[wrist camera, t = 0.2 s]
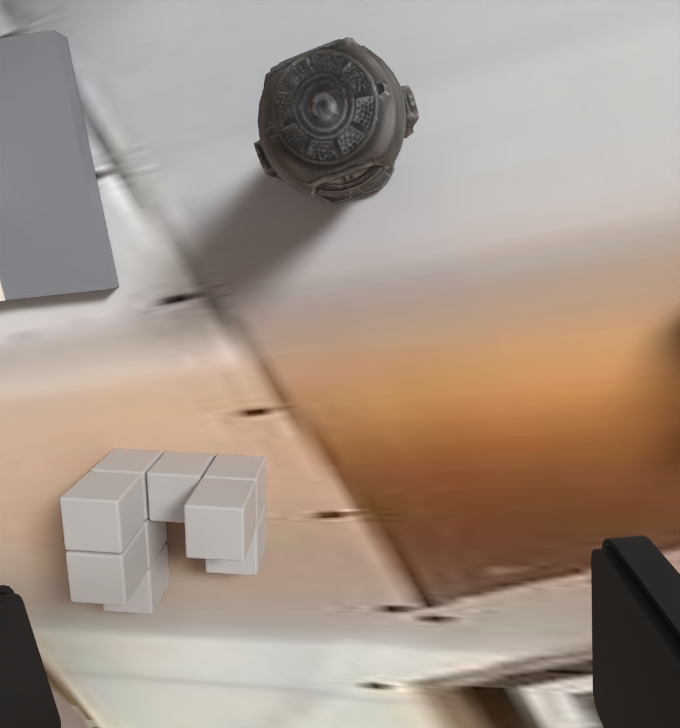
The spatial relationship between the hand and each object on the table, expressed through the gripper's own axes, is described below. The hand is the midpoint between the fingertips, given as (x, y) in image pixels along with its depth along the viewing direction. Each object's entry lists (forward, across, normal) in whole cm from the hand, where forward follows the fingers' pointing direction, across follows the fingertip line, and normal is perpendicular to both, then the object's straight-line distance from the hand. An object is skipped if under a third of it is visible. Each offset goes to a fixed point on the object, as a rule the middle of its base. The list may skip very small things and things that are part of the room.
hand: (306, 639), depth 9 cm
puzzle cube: (+31, +15, +15) cm, 38 cm away
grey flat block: (+31, +24, -12) cm, 41 cm away
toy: (+31, 0, -11) cm, 33 cm away
